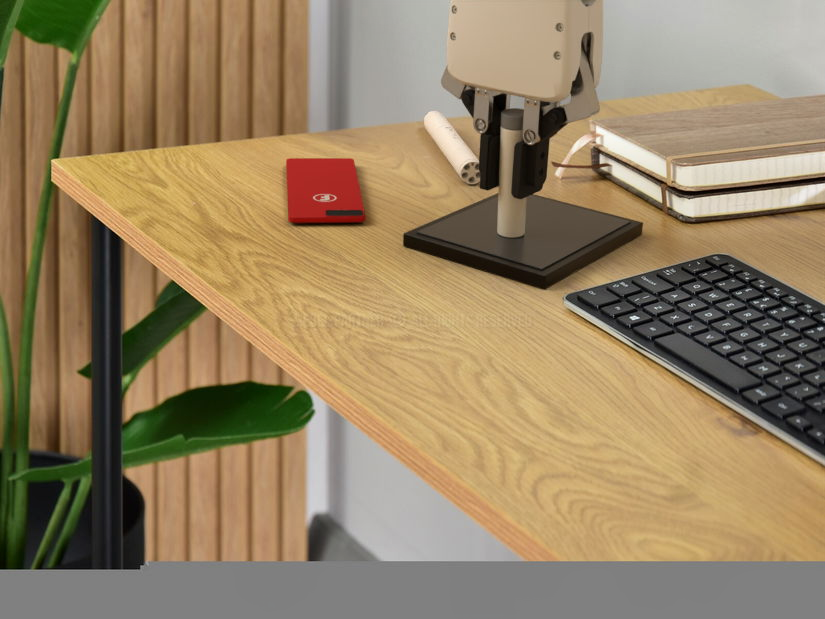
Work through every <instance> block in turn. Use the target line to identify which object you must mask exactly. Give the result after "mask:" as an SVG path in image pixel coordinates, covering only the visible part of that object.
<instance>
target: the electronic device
mask: <svg viewBox="0 0 825 619" xmlns="http://www.w3.org/2000/svg"><path fill="white" fill-rule="evenodd" d="M285 164H286V165H285V166H286V168H285V169H286V170H285V171H286V195H287V196H286V197H287V220H288V222H289V223H290V224H363V223H364V222H366V211H365V207H364V203H363V197H362V193H361V189H360V188H361V187H360V183H359V179H358V173H357V168H356V164H355V160H354V158H350V157H348V158H347V157H346V158H345V157H344V158H343V157H340V158H339V157H338V158H337V157H333V158H332V157H330V158H329V157H327V158H326V157H324V158H323V157H321V158H320V157H309V158H307V157H306V158H305V157H301V158H300V157H299V158H298V157H295V158H294V157H291V158H287V159H286V161H285Z"/></svg>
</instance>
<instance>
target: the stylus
mask: <svg viewBox="0 0 825 619" xmlns="http://www.w3.org/2000/svg"><path fill="white" fill-rule="evenodd" d="M523 117H524V108H519V107H518V108H517V107H516V108H515V107H510V109H505V110H503V111H502V112H501V130H500V161H499V186H498V192H497V193H498V221H497V233H498V234H499V235H501V236H503V237H508V238H516V237H520V236H522V235H524V233H525V218H526V197H525V198H523V199H517V198H514V197H513V195H512V194H511V188H512V173H513V159H514V147H515V144H516V143H518V142H520V141H522V140H523V137H522V132H523Z"/></svg>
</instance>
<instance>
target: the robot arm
mask: <svg viewBox="0 0 825 619" xmlns="http://www.w3.org/2000/svg"><path fill="white" fill-rule="evenodd" d="M449 5H450V6H449V13H448V24H447V37H446V67H445V69H444V71H443V74H442V75H441V79H440V84H441V87H442V88H443V89H444V90H446V91H447V92H448V93H450V94H451V95H453V96H454V97H456V99H458V100H461V102H462V104H463V106H464V107H465V109H466V110H467V112H468V113H469V115H470V116H471V118H472V120H473V122H472V124H473V125H472V126H473V129H474V131H475V132H476V133H478V134H480V136H479V137H480V138H479V156H478V160H479V171H480V181H479V188H480V189H481V190H484V191H491V190H493V189H496V188H499V161H500V130H501V112H502V111H503V110H505V109H511V96H513V97H519V98H524V102H523V103H524V104H523V109H524V117H523V132H522V137H523V140H522V141H520V142H518V143H516V144H515V147H514V159H513V173H512V188H511V194H512V195H513V197H514V198H517V199H523V198H525V197H527V196H530V195H532V194H536V193H539V192H541V191H542V189H543V188H544V184H545V183H546V181H547V178H548V167H549V166H548V164H549V151H550V142H551V141H550V140H551V138H554V137H556V136H557V135H558V133H559V132H560V131H561V130H562V129H564V127H566V126H567V125H568V124H570V123H575V122H578V121H583V120H587V119H589V118H592V117H595V116H597V115H598V114H599V113H600V111H601V106H600V102H599V98H598V93H597V90H596V89H597V87H598V86H599V83H600V81H601V80H600V79H601V75H602V74H601V72H602V62H603V46H604V45H603V44H604V42H603V40H604V0H450V4H449ZM568 97H570V101H569V102H568V103H564V104H561V101H564V100H566V99H567V98H568Z"/></svg>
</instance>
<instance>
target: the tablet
mask: <svg viewBox="0 0 825 619" xmlns="http://www.w3.org/2000/svg"><path fill="white" fill-rule="evenodd" d="M497 221H498V192H497V193H494V194H492V195H490V196H488V197H485V198H483V199H481V200H478V201H476V202H474V203H471V204H468V205H466V206H464V207H462V208H459V209H457V210H455V211H453V212H450V213H448V214H446V215H443V216H441V217H439V218H436V219H434V220H432V221H431V220H430V221H429V222H427V223H425V224H422V225H419V226H417V227H415V228H413V229H410V230H408V231H405V232H404V233H403V236H402V246H403V247H405V248H408V249H411V250H412V249H413V250H415V251H419V252H421V253H425V254H428V255H430V256H435V257H438V258H441V259H444V260H448V261H450V262H454V263H457V264H461V265H463V266H467V267H470V268H474V269H476V270H480V271H483V272H487V273H490V274H493V275H497V276H499V277H502V278H506V279H509V280H513V281H516V282H519V283H523V284H525V285H529V286H532V287H536V288H538V289H542V290H545V289H547V288H549V287H551V286H553V285H555V284H556V283H558V282H560V281H562V280H563V279H566V278H567V277H568V276H570V275H573V274H574V273H576V272H578V271H579V270H581V269H583V268H585V267H587V266H588V265H590V264H592V263H594V262H595V261H597V260H599V259H601V258H603V257H605V256H607V255H608V254H609V253H611V252H613V251H615V250H618V249H619V248H621V247H622V246H624V245H626V244H627V243H629V242H631V241H633V240H634V239H636V238H639V237H640V236H642V235H643V228H644V222H643V221H639V220H635V219H631V218H628V217H623V216H620V215H615V214H611V213H609V212H605V211H600V210H596V209H593V208H589V207H584V206H582V205H581V206H580V205H577V204H574V203H571V202H570V203H569V202H565V201H561V200H558V199H555V198H554V199H553V198H550V197H546V196H543V195H538V194H536V193H534V194H532V195H530V196H527V197H526V218H525V233H524V235H522V236H520V237H516V238H508V237H503V236H501V235H499V234H498V233H497Z"/></svg>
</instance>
